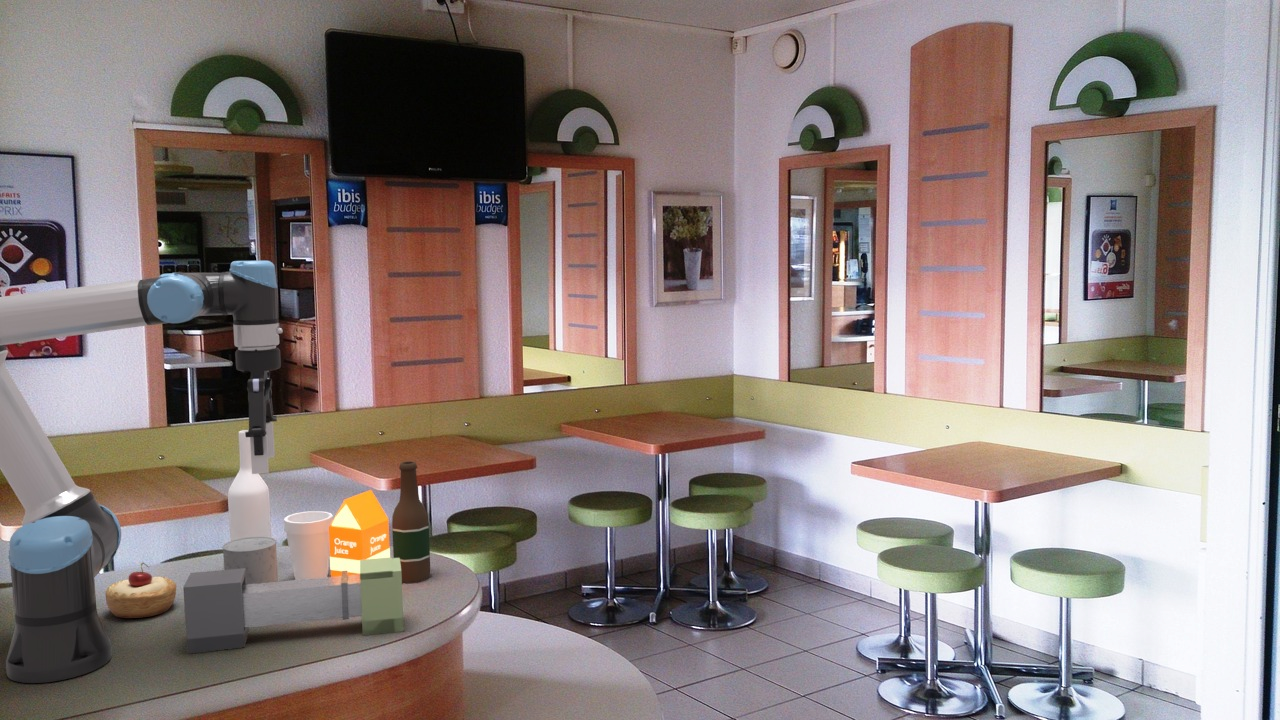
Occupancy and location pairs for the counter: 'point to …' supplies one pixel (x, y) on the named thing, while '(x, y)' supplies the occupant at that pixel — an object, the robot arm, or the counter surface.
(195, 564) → the counter surface
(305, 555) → the foam cup
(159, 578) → the pastry
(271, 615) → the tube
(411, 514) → the beer bottle
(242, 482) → the bottle
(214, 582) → the sleeve
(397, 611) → the socket
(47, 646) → the robot arm
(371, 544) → the orange juice
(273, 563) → the gray cylinder
